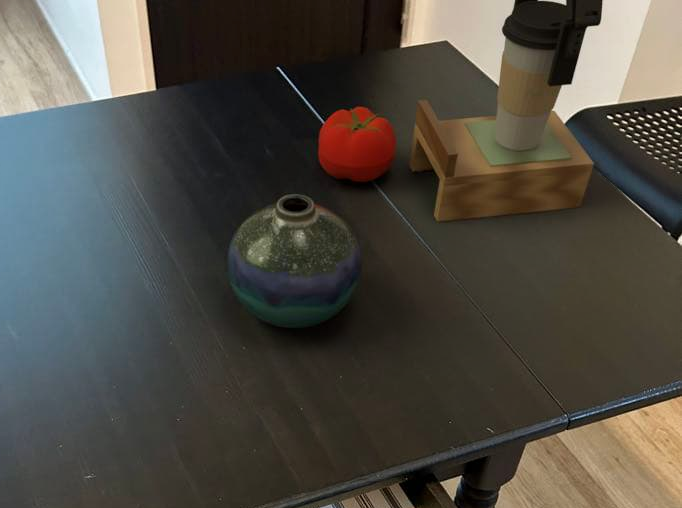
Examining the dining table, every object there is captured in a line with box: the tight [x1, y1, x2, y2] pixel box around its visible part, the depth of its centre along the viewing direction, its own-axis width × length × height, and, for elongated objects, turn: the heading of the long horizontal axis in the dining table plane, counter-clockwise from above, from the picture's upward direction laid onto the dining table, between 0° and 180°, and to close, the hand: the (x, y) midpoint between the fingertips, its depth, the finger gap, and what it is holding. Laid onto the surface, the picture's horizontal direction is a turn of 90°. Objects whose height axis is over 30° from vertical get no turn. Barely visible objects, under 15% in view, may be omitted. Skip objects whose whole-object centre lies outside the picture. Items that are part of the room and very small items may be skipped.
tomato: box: [318, 106, 397, 183], centre depth 113 cm, size 11×11×8 cm
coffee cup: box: [495, 0, 567, 151], centre depth 103 cm, size 9×9×15 cm
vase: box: [226, 193, 363, 329], centre depth 93 cm, size 15×15×13 cm
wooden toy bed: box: [408, 99, 595, 223], centre depth 110 cm, size 20×14×9 cm
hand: (538, 58), depth 101 cm, fingers open, 13 cm apart
